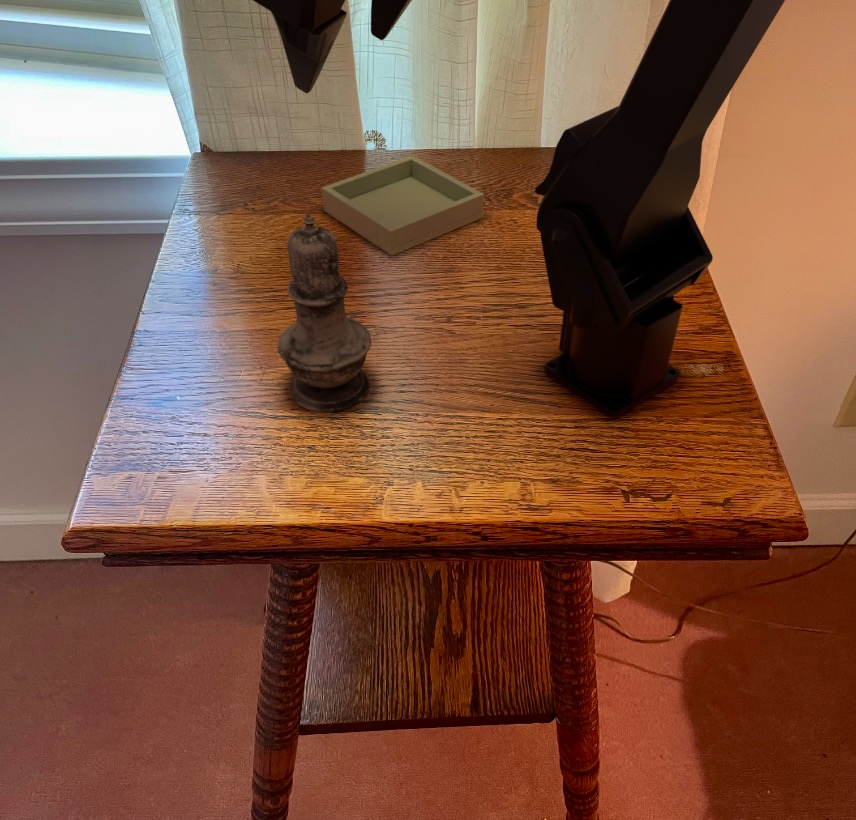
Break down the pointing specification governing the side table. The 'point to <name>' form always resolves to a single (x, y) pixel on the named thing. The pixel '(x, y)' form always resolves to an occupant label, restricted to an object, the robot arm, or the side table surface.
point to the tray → (402, 204)
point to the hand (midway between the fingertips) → (341, 62)
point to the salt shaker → (322, 327)
